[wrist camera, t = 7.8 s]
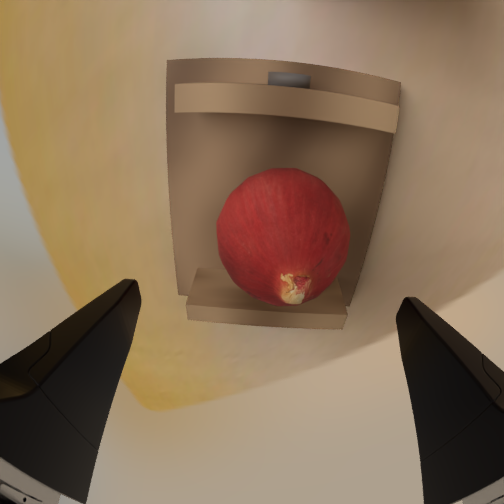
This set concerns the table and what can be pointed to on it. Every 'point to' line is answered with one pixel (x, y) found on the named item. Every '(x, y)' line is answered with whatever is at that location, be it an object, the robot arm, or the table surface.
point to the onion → (283, 236)
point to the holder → (266, 157)
